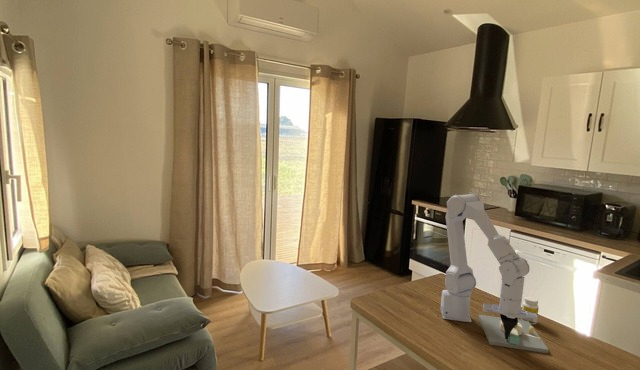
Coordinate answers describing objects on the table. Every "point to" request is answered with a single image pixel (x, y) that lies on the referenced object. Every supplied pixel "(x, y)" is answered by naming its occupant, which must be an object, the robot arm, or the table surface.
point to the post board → (497, 337)
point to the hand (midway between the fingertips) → (506, 337)
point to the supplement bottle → (530, 306)
